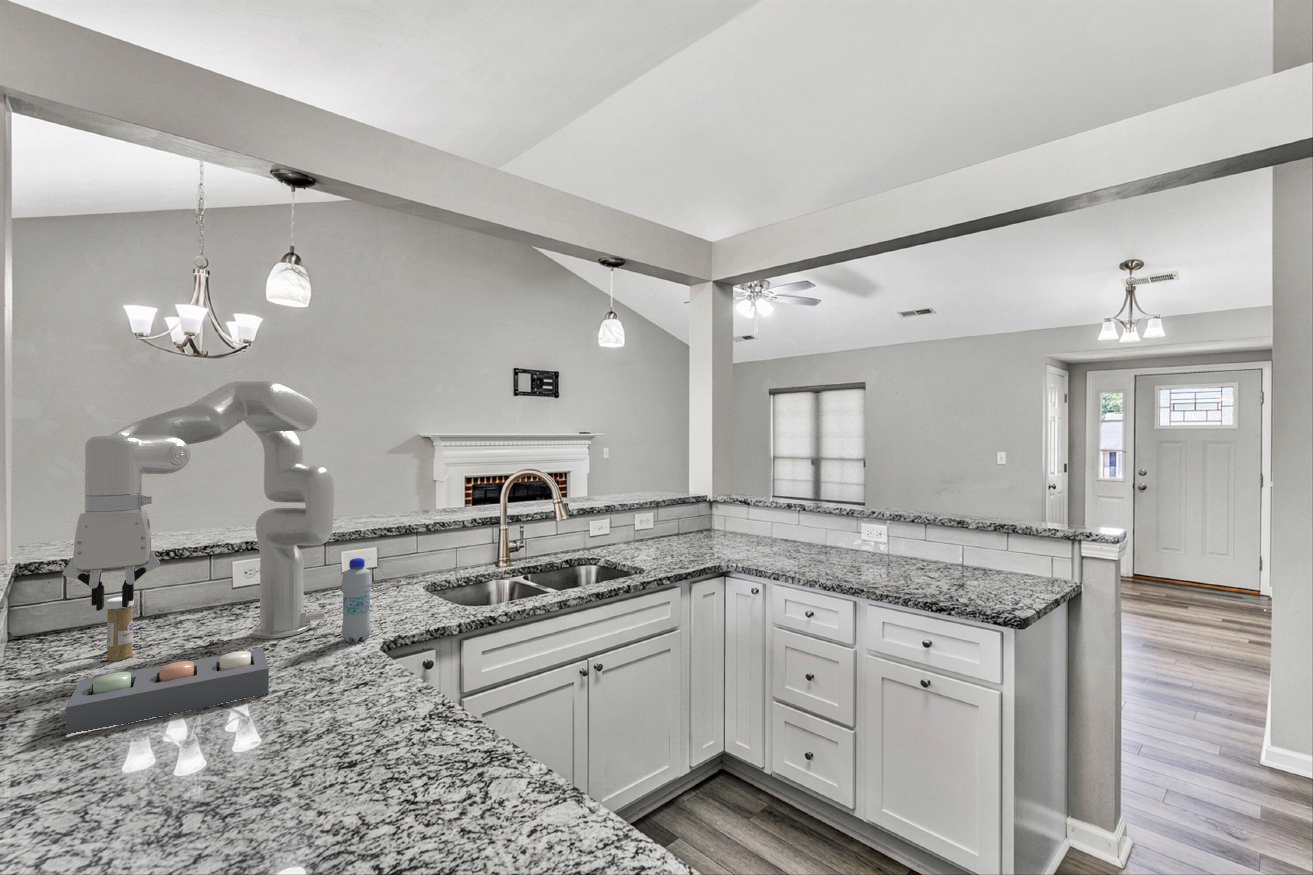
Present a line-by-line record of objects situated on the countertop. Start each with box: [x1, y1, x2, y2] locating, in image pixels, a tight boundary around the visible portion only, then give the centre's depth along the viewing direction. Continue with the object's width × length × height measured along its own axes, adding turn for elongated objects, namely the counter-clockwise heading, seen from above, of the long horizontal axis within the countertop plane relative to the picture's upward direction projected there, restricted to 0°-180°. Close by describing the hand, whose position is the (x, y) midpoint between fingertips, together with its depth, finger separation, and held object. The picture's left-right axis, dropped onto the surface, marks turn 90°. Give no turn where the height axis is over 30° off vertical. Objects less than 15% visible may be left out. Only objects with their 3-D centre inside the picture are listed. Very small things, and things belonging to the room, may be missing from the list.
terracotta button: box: [160, 660, 194, 682], centre depth 112 cm, size 5×5×4 cm
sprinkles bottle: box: [105, 596, 135, 662], centre depth 134 cm, size 5×5×14 cm
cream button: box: [220, 650, 251, 671], centre depth 117 cm, size 5×5×4 cm
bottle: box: [341, 557, 373, 643], centre depth 147 cm, size 7×7×20 cm
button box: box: [65, 648, 270, 735], centre depth 112 cm, size 28×14×5 cm, turn 127°
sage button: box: [93, 671, 131, 695], centre depth 106 cm, size 5×5×4 cm
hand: (112, 606), depth 107 cm, fingers open, 2 cm apart
